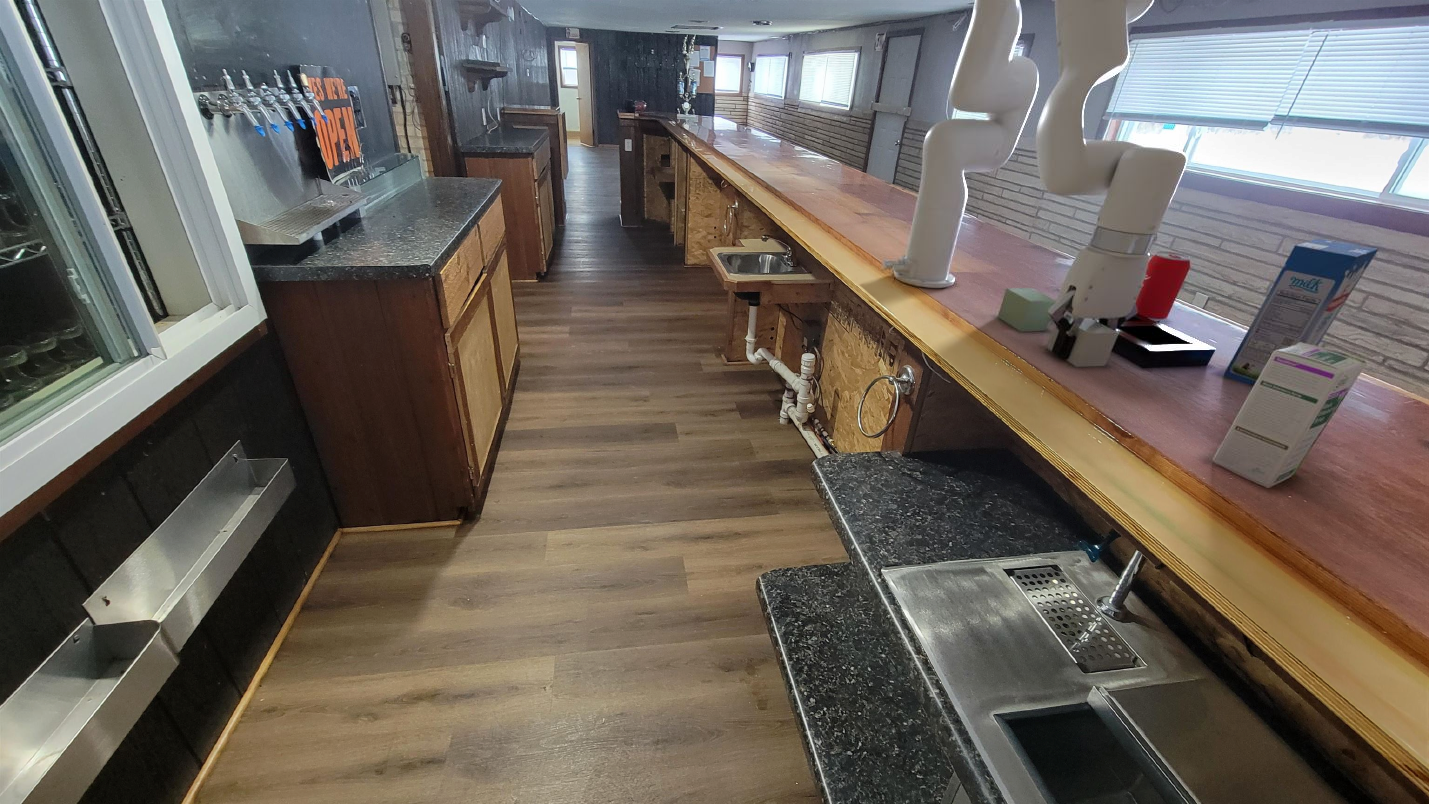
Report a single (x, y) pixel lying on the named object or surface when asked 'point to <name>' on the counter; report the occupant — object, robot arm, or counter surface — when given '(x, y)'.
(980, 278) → the counter surface
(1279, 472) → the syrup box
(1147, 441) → the counter surface
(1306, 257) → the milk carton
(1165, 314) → the beverage can
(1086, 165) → the robot arm
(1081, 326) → the light grey block
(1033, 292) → the pale green block
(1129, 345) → the frame
